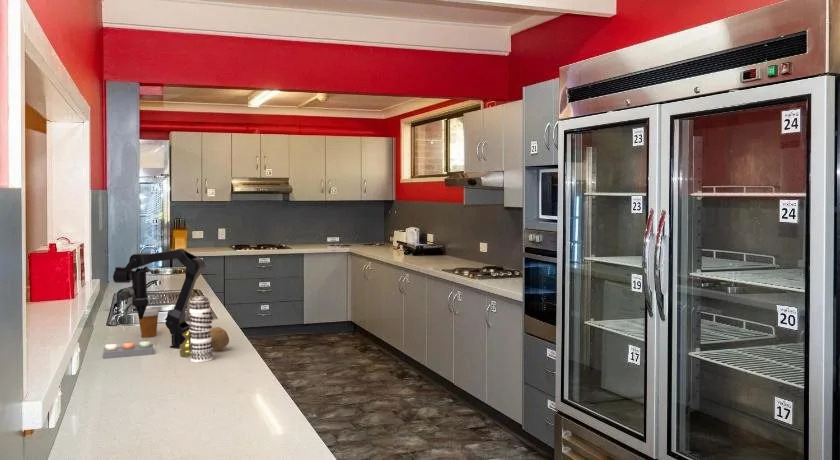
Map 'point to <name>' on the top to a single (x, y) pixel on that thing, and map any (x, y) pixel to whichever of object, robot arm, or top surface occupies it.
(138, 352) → the button panel
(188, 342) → the gold metal figurine
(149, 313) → the disposable coffee cup
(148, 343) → the sage button
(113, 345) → the cream button
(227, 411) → the top surface
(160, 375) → the top surface
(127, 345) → the terracotta button
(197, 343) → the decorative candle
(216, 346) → the brown rounded lump
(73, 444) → the top surface
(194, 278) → the robot arm
